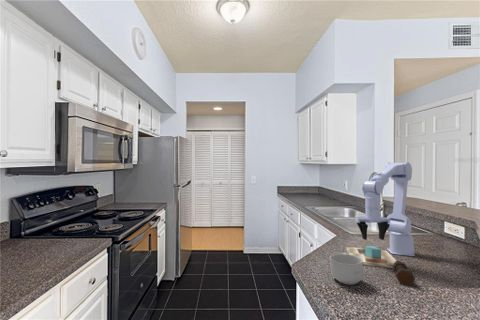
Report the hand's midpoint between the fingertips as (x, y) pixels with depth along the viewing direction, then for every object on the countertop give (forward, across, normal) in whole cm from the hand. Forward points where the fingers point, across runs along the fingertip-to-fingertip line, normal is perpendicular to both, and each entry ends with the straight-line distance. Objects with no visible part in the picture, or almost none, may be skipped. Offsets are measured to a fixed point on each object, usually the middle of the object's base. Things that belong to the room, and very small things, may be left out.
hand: (373, 239), depth 105 cm
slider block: (+10, 0, +1) cm, 10 cm away
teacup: (+10, +21, +18) cm, 29 cm away
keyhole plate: (+9, -1, -4) cm, 10 cm away
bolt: (+10, -2, +16) cm, 18 cm away
